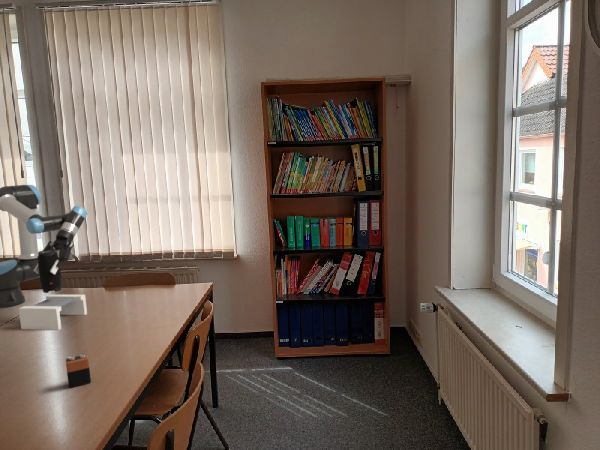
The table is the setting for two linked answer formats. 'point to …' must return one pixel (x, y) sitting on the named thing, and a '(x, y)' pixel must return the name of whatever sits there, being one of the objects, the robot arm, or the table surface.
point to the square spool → (51, 311)
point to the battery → (78, 370)
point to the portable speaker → (46, 277)
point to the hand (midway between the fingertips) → (44, 272)
